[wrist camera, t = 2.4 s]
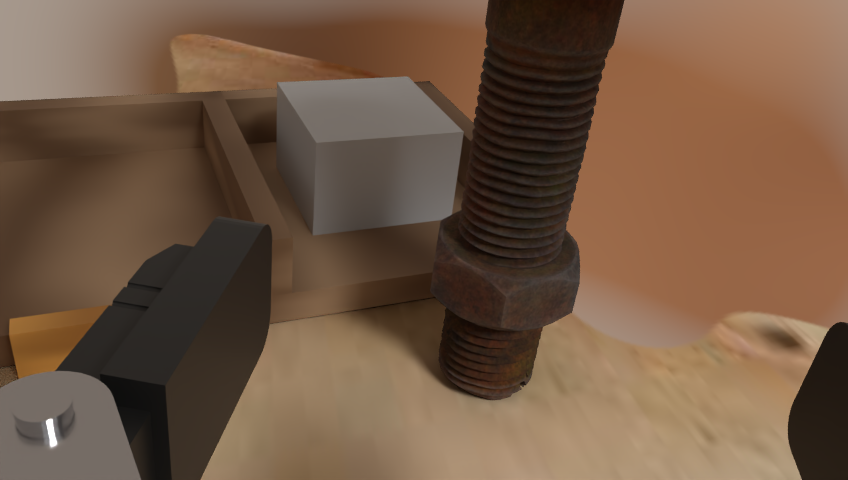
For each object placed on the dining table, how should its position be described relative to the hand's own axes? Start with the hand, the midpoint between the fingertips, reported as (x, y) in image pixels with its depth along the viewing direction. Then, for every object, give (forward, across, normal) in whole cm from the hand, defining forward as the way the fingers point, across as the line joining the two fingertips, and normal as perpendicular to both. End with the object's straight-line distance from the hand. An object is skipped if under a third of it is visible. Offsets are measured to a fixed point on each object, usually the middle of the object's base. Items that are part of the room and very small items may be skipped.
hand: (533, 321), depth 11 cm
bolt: (+12, 0, +11) cm, 16 cm away
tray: (+18, +10, +11) cm, 24 cm away
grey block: (+21, +6, +10) cm, 24 cm away
